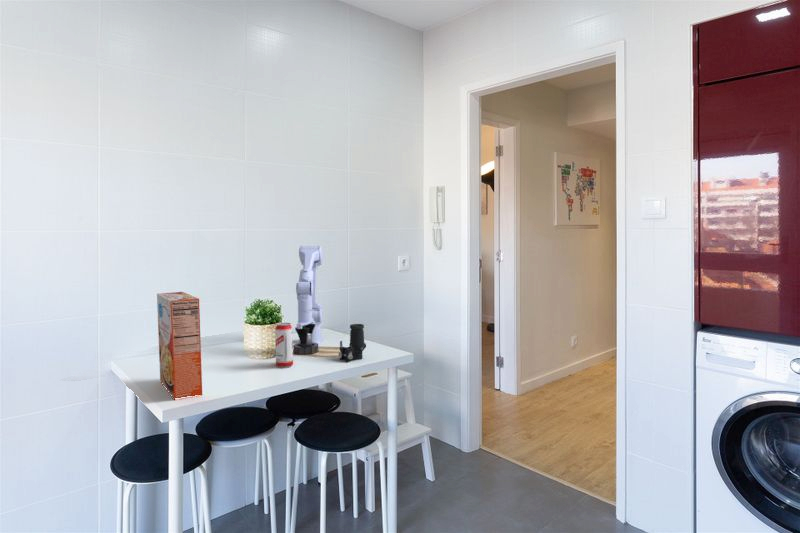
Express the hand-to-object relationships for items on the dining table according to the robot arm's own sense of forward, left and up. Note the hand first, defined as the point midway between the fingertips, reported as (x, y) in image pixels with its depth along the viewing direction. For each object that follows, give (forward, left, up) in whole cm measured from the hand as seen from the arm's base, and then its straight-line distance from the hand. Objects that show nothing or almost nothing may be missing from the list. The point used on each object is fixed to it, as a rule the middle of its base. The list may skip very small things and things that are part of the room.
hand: (305, 343), depth 207 cm
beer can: (+20, -1, -5) cm, 21 cm away
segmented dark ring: (0, 0, -4) cm, 4 cm away
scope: (+8, +23, -5) cm, 25 cm away
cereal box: (+51, -24, -5) cm, 56 cm away
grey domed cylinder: (0, 0, -2) cm, 2 cm away
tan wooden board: (-2, +6, -4) cm, 8 cm away
